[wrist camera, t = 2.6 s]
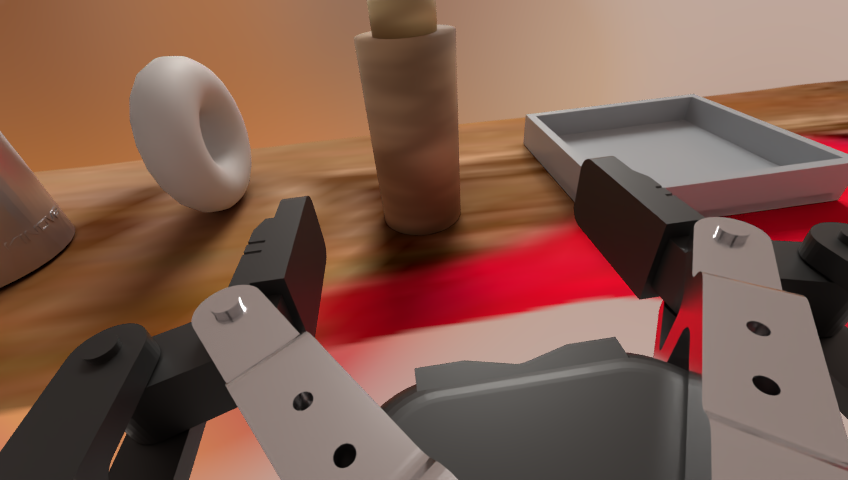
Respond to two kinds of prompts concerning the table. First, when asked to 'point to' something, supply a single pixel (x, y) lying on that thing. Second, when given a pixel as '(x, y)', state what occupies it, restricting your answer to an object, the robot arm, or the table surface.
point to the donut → (190, 133)
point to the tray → (691, 153)
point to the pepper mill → (412, 113)
